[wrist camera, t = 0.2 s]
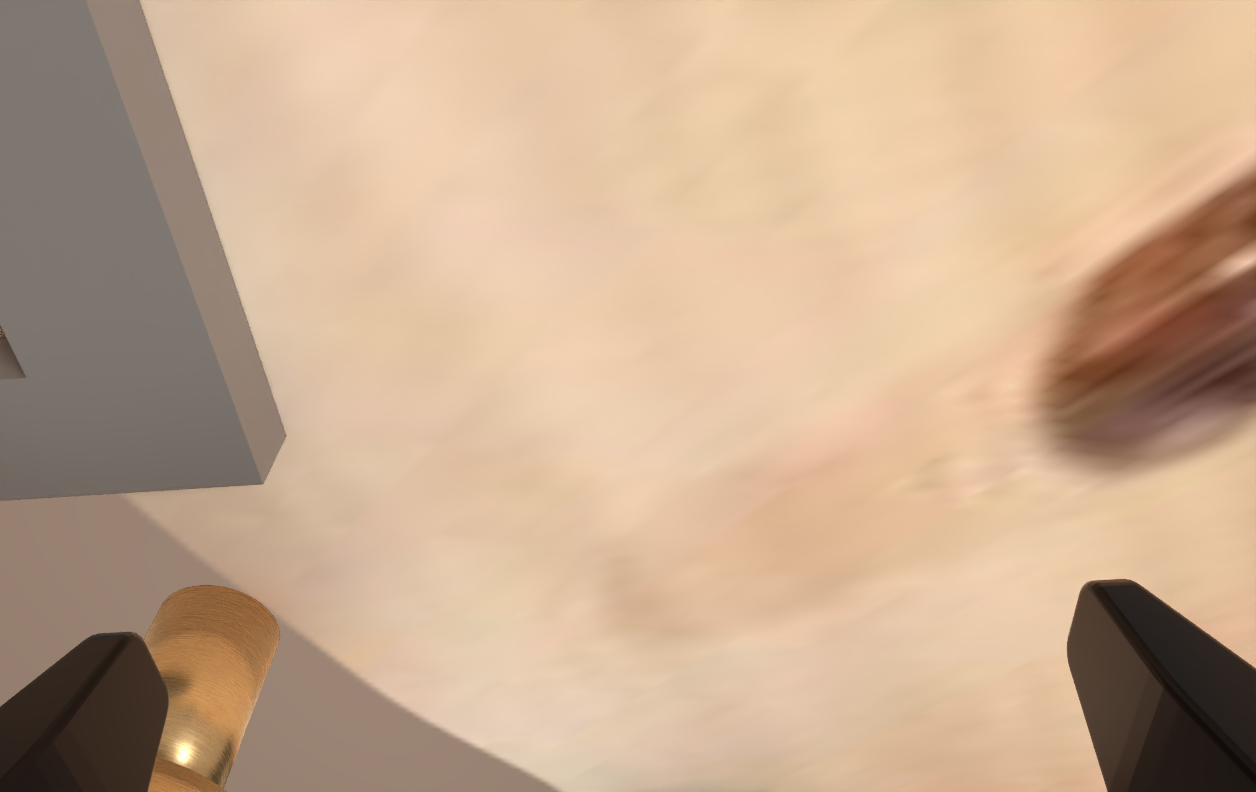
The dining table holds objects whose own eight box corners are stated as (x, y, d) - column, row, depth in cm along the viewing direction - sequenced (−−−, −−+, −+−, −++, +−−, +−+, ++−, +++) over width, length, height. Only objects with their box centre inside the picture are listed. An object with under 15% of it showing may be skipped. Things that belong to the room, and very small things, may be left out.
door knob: (340, 686, 31) (264, 941, 25) (157, 696, 32) (34, 951, 25) (290, 549, 28) (187, 800, 21) (86, 561, 28) (-78, 814, 22)
